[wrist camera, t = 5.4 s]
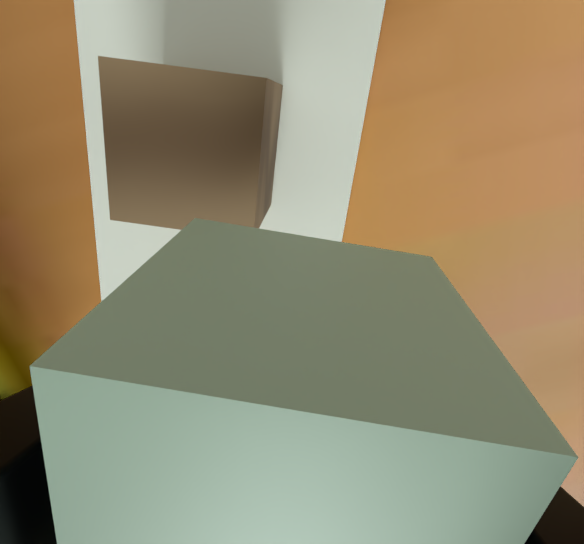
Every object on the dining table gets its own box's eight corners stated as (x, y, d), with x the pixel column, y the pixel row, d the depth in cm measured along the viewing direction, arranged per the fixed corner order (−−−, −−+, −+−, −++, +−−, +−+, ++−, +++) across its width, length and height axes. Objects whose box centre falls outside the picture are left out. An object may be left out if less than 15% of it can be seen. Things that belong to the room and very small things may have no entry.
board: (321, 341, 22) (321, 349, 21) (110, 311, 22) (103, 318, 21) (383, -2, 15) (387, -7, 14) (81, -40, 15) (69, -47, 15)
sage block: (375, 433, 10) (420, 708, 5) (186, 402, 10) (73, 649, 5) (431, 256, 8) (577, 457, 3) (195, 217, 8) (28, 365, 3)
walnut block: (270, 204, 18) (253, 239, 13) (164, 190, 18) (110, 219, 13) (282, 85, 16) (266, 77, 11) (162, 69, 16) (97, 55, 11)
